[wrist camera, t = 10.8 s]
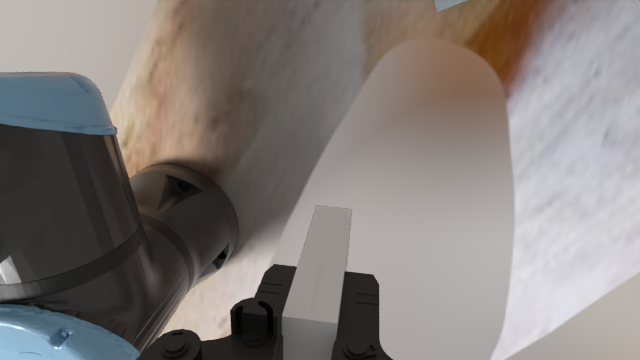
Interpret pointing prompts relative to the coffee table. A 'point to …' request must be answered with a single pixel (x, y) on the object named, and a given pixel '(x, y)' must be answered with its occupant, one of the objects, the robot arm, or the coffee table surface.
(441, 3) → the stand
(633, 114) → the coffee table surface
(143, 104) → the coffee table surface
